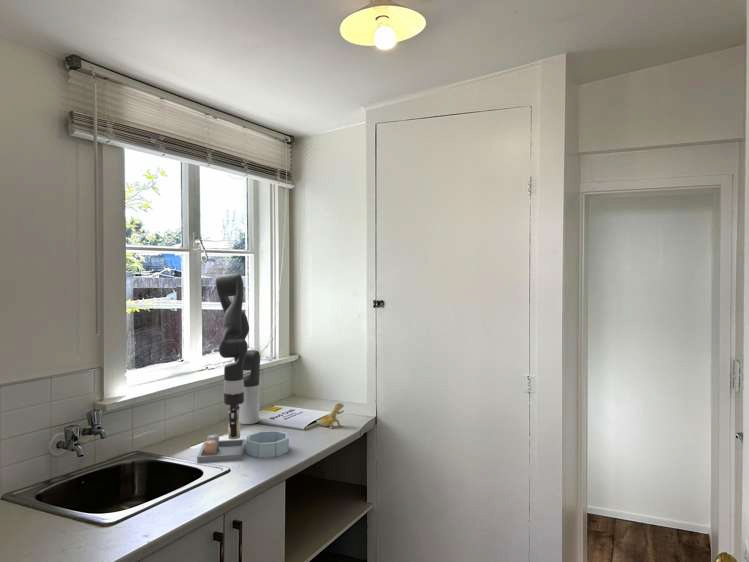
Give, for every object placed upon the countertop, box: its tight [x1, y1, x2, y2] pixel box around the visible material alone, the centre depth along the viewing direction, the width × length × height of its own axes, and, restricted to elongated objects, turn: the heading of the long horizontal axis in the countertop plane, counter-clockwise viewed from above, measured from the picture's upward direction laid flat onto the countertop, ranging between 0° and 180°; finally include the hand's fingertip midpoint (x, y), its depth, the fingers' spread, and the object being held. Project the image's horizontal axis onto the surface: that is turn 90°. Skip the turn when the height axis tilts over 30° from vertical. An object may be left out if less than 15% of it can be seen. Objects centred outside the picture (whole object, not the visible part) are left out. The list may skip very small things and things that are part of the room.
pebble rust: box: [203, 440, 217, 456], centre depth 199 cm, size 4×4×6 cm
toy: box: [316, 402, 345, 430], centre depth 238 cm, size 7×15×10 cm, turn 74°
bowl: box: [245, 429, 290, 459], centre depth 206 cm, size 16×16×6 cm
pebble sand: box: [227, 422, 241, 440], centre depth 204 cm, size 4×4×6 cm
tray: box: [196, 438, 247, 463], centre depth 203 cm, size 18×16×2 cm
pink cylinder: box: [206, 434, 220, 451], centre depth 206 cm, size 4×4×6 cm
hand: (234, 434), depth 204 cm, fingers closed on pebble sand, 4 cm apart
